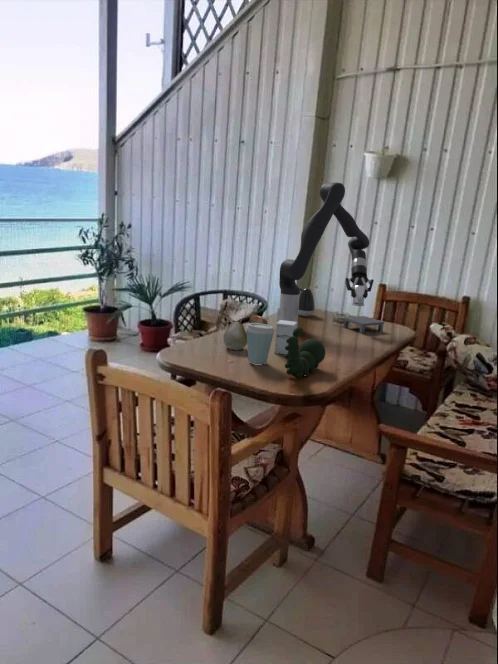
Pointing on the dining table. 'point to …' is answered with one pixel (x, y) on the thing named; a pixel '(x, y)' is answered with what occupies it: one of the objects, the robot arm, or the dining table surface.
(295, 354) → the toy figurine
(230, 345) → the fruit
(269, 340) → the disposable coffee cup
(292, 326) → the supplement box
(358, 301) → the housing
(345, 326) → the stand
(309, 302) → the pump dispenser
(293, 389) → the dining table surface
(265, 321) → the tin
